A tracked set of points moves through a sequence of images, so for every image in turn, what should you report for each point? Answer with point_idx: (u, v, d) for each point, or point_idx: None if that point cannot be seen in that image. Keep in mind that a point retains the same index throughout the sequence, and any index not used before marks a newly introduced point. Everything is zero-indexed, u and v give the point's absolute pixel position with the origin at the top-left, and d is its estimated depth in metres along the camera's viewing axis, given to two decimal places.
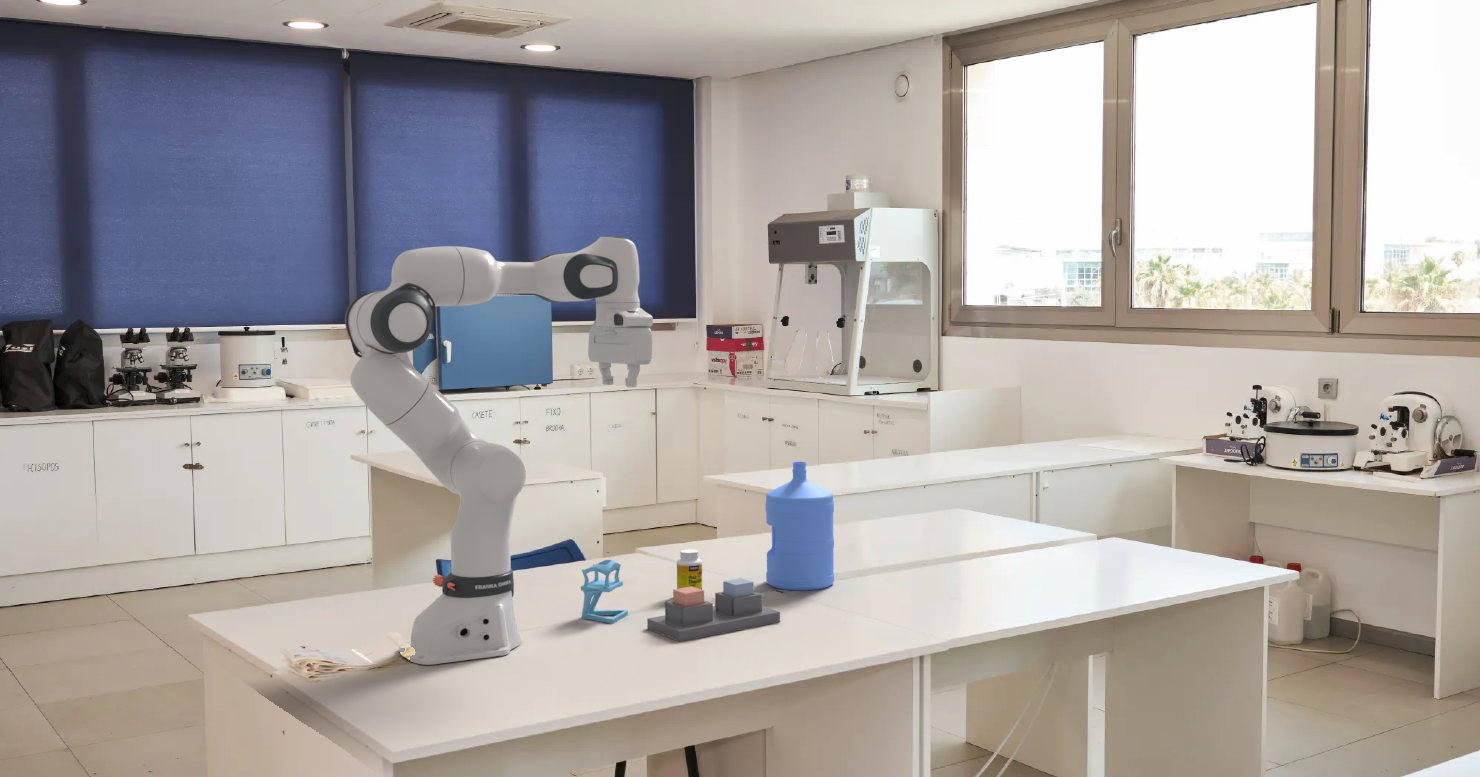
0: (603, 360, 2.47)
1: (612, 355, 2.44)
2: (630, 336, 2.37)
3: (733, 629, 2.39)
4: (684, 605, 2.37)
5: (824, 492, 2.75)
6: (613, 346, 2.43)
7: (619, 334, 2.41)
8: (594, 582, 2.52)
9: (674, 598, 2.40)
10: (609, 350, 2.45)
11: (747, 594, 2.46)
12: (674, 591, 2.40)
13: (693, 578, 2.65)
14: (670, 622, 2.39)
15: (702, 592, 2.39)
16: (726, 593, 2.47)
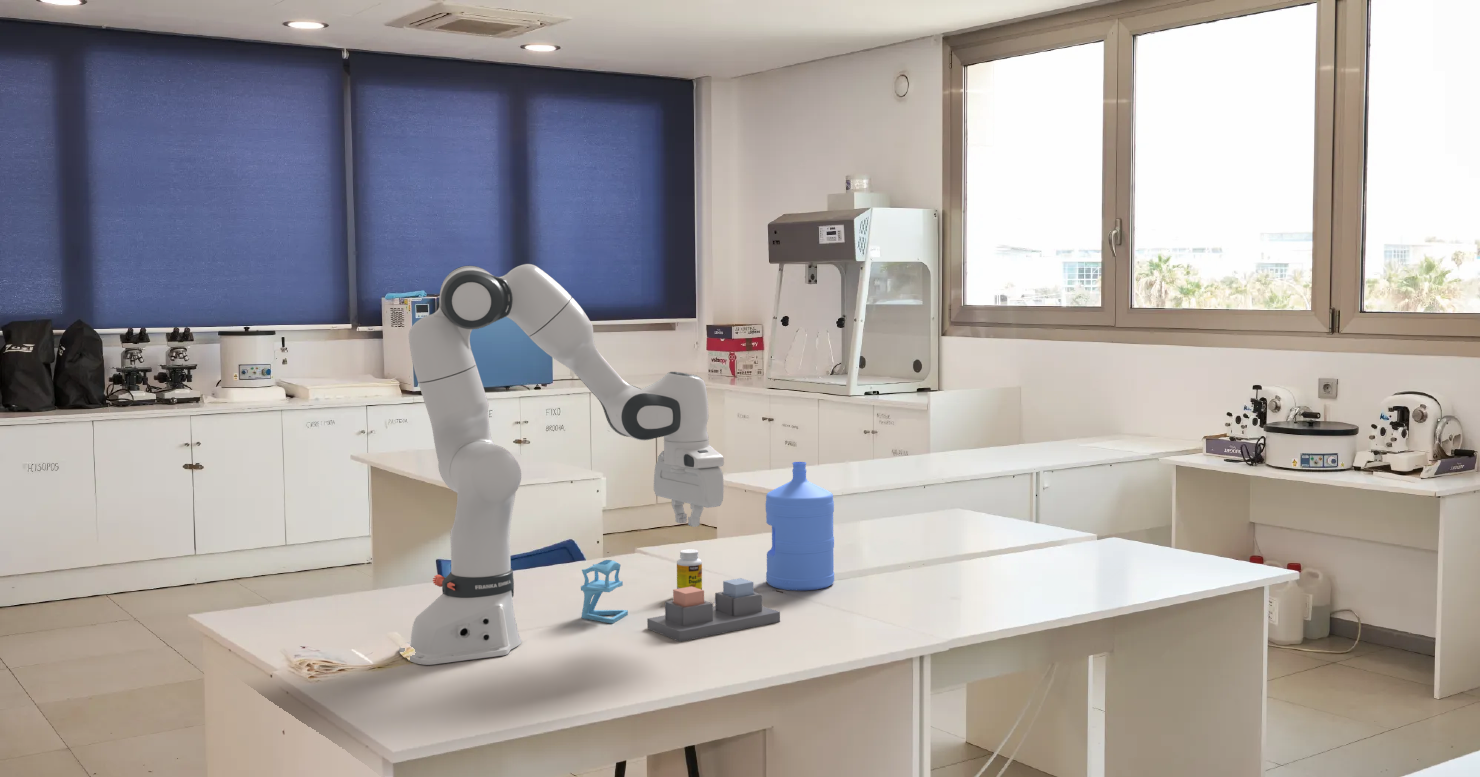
0: (670, 497, 2.41)
1: (681, 494, 2.37)
2: (701, 479, 2.30)
3: (733, 629, 2.39)
4: (684, 605, 2.37)
5: (824, 492, 2.75)
6: (682, 485, 2.37)
7: (689, 474, 2.34)
8: (594, 582, 2.52)
9: (674, 598, 2.40)
10: (677, 488, 2.38)
11: (747, 594, 2.46)
12: (674, 591, 2.40)
13: (693, 578, 2.65)
14: (670, 622, 2.39)
15: (702, 592, 2.39)
16: (726, 593, 2.47)
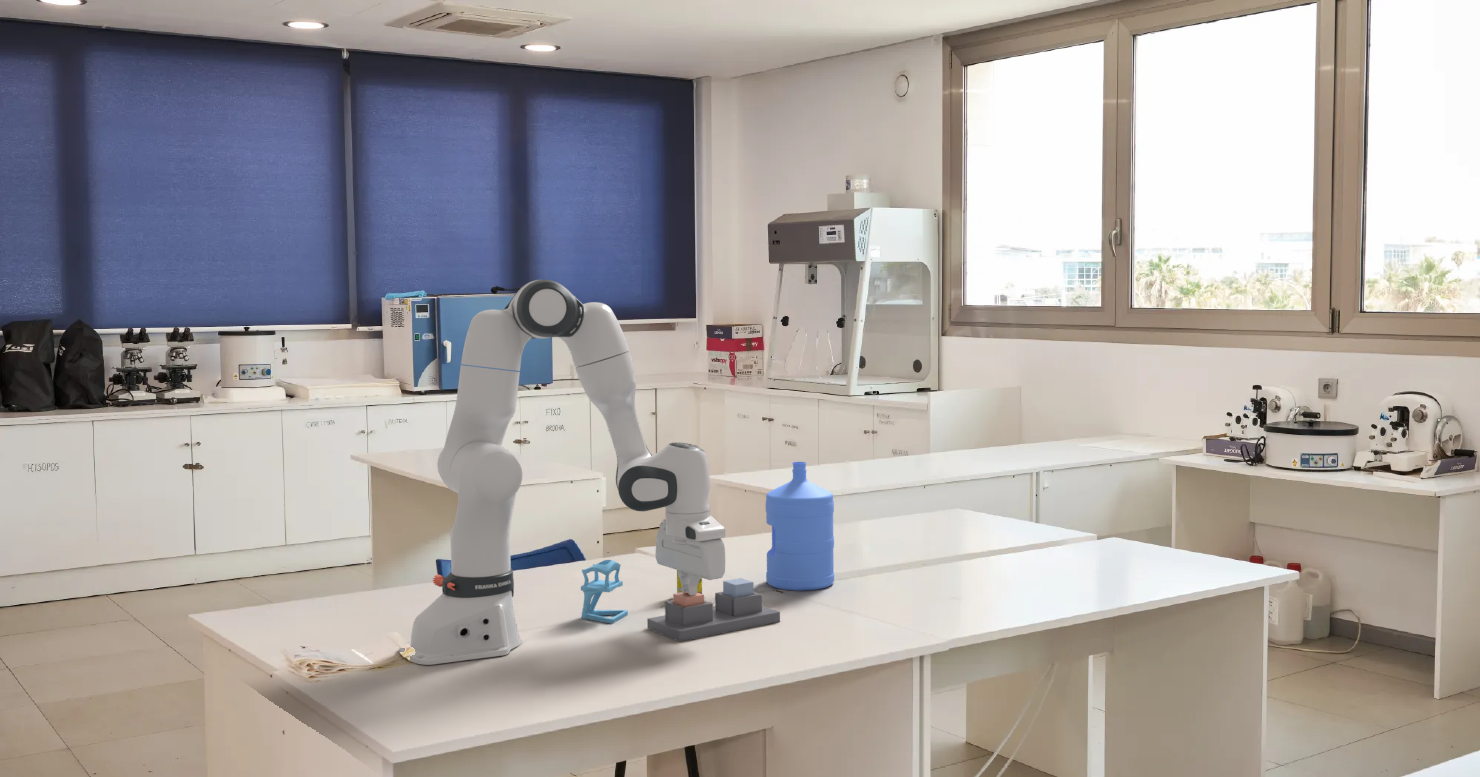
0: (672, 567, 2.42)
1: (683, 564, 2.38)
2: (703, 551, 2.31)
3: (733, 629, 2.39)
4: None
5: (824, 492, 2.75)
6: (684, 556, 2.38)
7: (690, 545, 2.35)
8: (594, 582, 2.52)
9: None
10: (679, 558, 2.39)
11: (747, 594, 2.46)
12: (674, 595, 2.40)
13: None
14: (670, 622, 2.39)
15: (702, 596, 2.39)
16: (726, 593, 2.47)
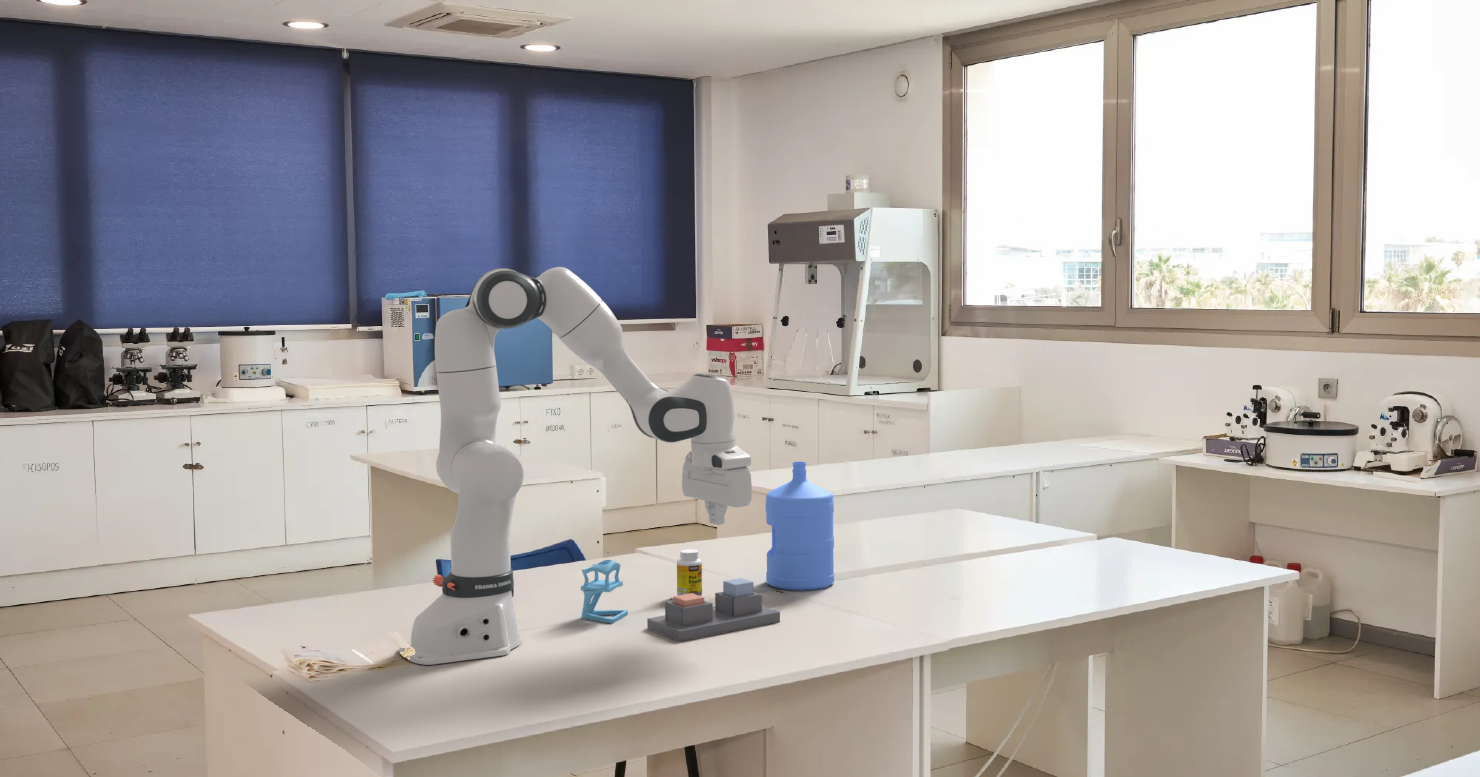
0: (699, 497, 2.44)
1: (709, 494, 2.40)
2: (730, 479, 2.33)
3: (733, 629, 2.39)
4: None
5: (824, 492, 2.75)
6: (710, 485, 2.40)
7: (717, 474, 2.37)
8: (594, 582, 2.52)
9: None
10: (705, 489, 2.42)
11: (747, 594, 2.46)
12: (674, 598, 2.40)
13: (693, 578, 2.65)
14: (670, 622, 2.39)
15: (702, 599, 2.39)
16: (726, 593, 2.47)
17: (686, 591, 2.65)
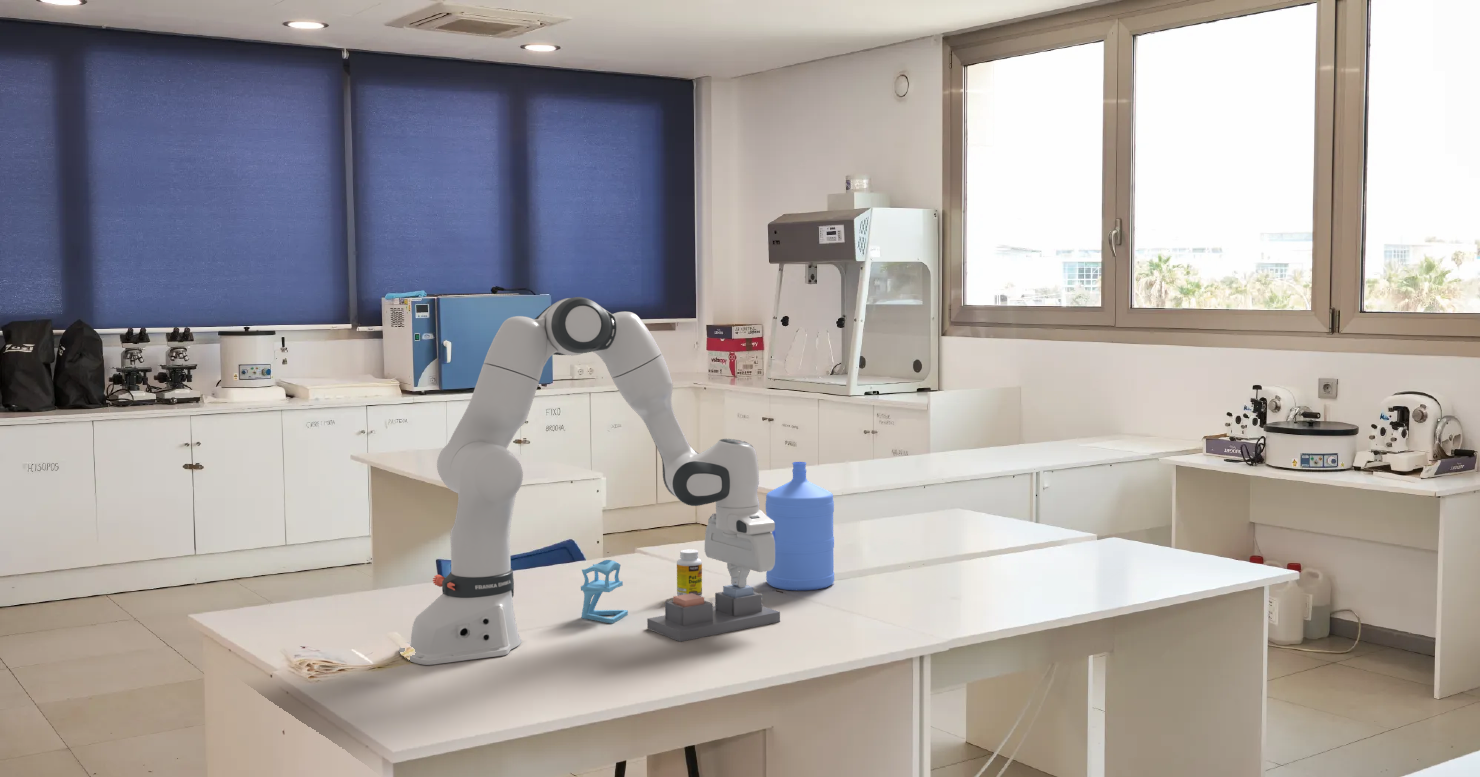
0: (721, 560, 2.49)
1: (733, 557, 2.45)
2: (754, 544, 2.38)
3: (733, 629, 2.39)
4: None
5: (824, 492, 2.75)
6: (734, 549, 2.45)
7: (741, 539, 2.42)
8: (594, 582, 2.52)
9: None
10: (728, 551, 2.46)
11: None
12: (674, 598, 2.40)
13: (693, 578, 2.65)
14: (670, 622, 2.39)
15: (702, 599, 2.39)
16: None
17: (686, 591, 2.65)
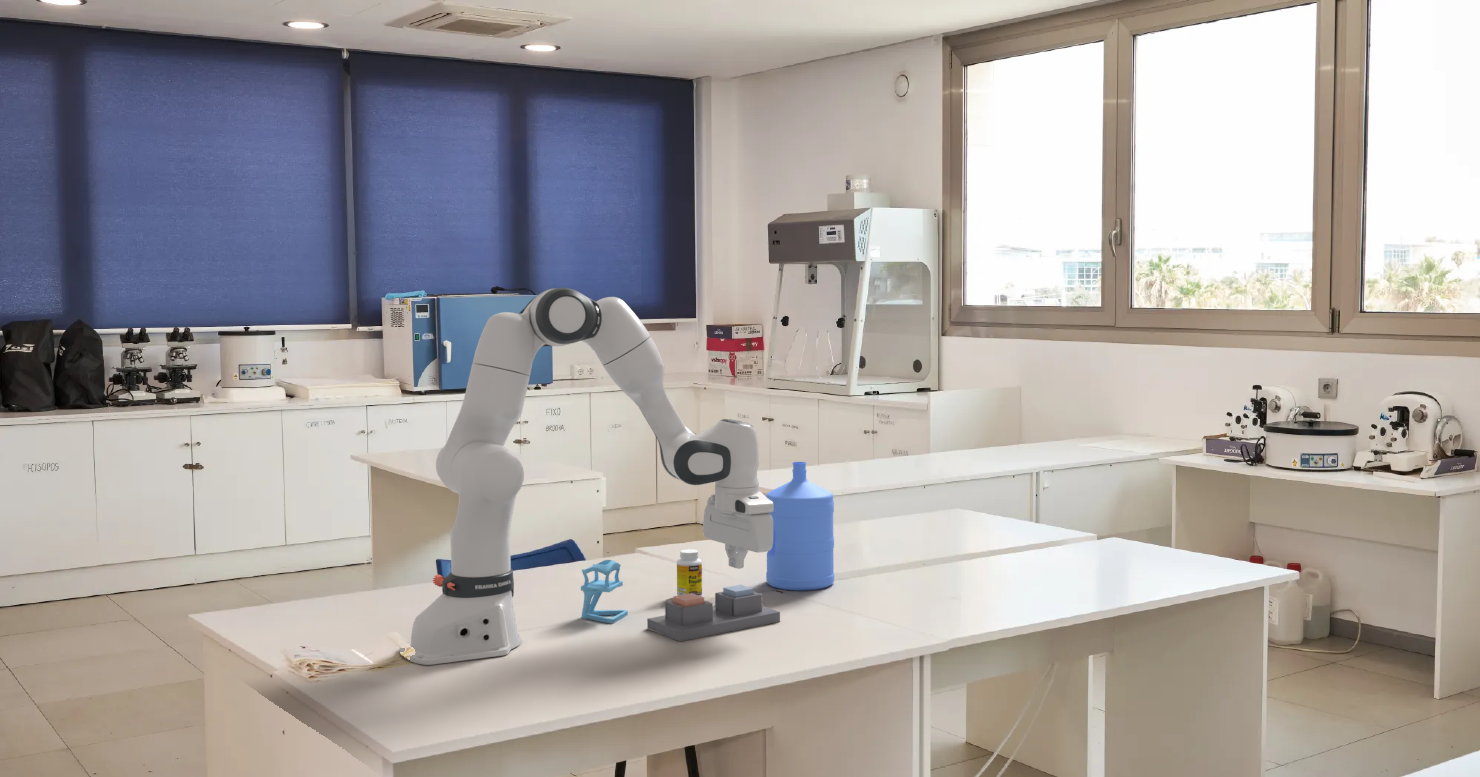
0: (719, 540, 2.48)
1: (731, 538, 2.44)
2: (752, 524, 2.37)
3: (733, 629, 2.39)
4: None
5: (824, 492, 2.75)
6: (732, 529, 2.44)
7: (739, 519, 2.41)
8: (594, 582, 2.52)
9: None
10: (727, 532, 2.46)
11: None
12: (674, 598, 2.40)
13: (693, 578, 2.65)
14: (670, 622, 2.39)
15: (702, 599, 2.39)
16: None
17: (686, 591, 2.65)
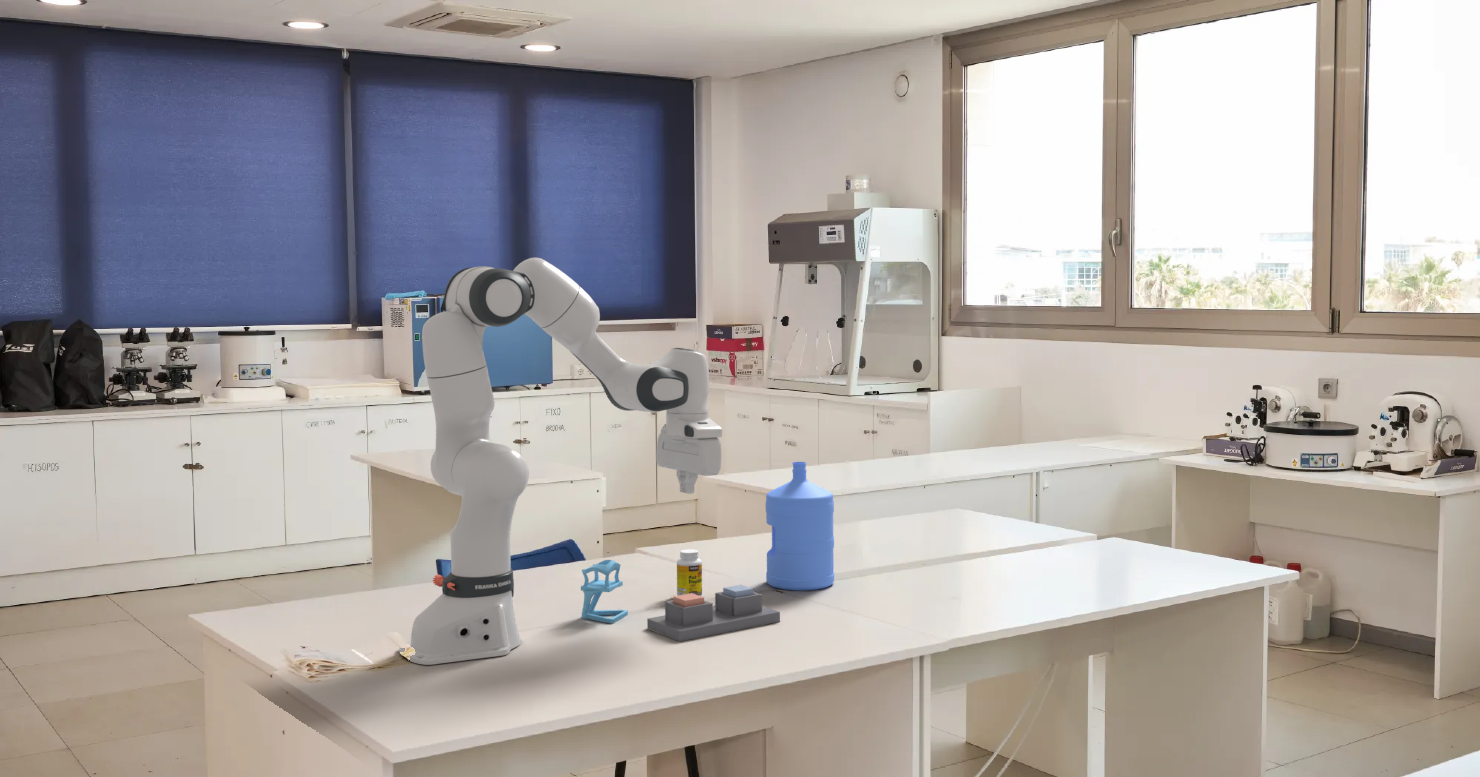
0: (671, 467, 2.54)
1: (681, 463, 2.51)
2: (700, 448, 2.43)
3: (733, 629, 2.39)
4: None
5: (824, 492, 2.75)
6: (682, 455, 2.50)
7: (689, 444, 2.48)
8: (594, 582, 2.52)
9: None
10: (677, 458, 2.52)
11: None
12: (674, 598, 2.40)
13: (693, 578, 2.65)
14: (670, 622, 2.39)
15: (702, 599, 2.39)
16: None
17: (686, 591, 2.65)
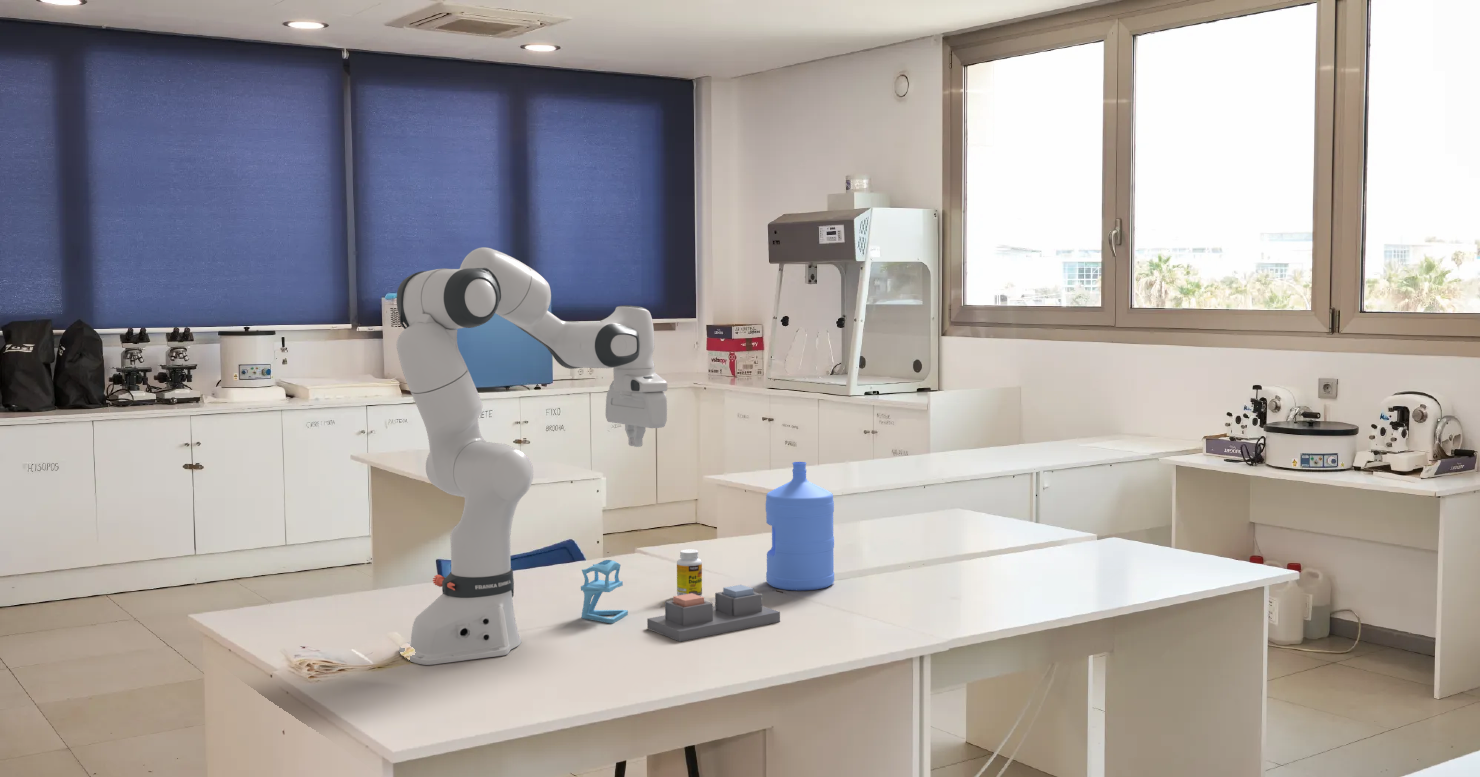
0: (620, 422, 2.62)
1: (629, 417, 2.58)
2: (646, 401, 2.51)
3: (733, 629, 2.39)
4: None
5: (824, 492, 2.75)
6: (630, 409, 2.58)
7: (635, 398, 2.55)
8: (594, 582, 2.52)
9: None
10: (625, 413, 2.59)
11: None
12: (674, 598, 2.40)
13: (693, 578, 2.65)
14: (670, 622, 2.39)
15: (702, 599, 2.39)
16: None
17: (686, 591, 2.65)
